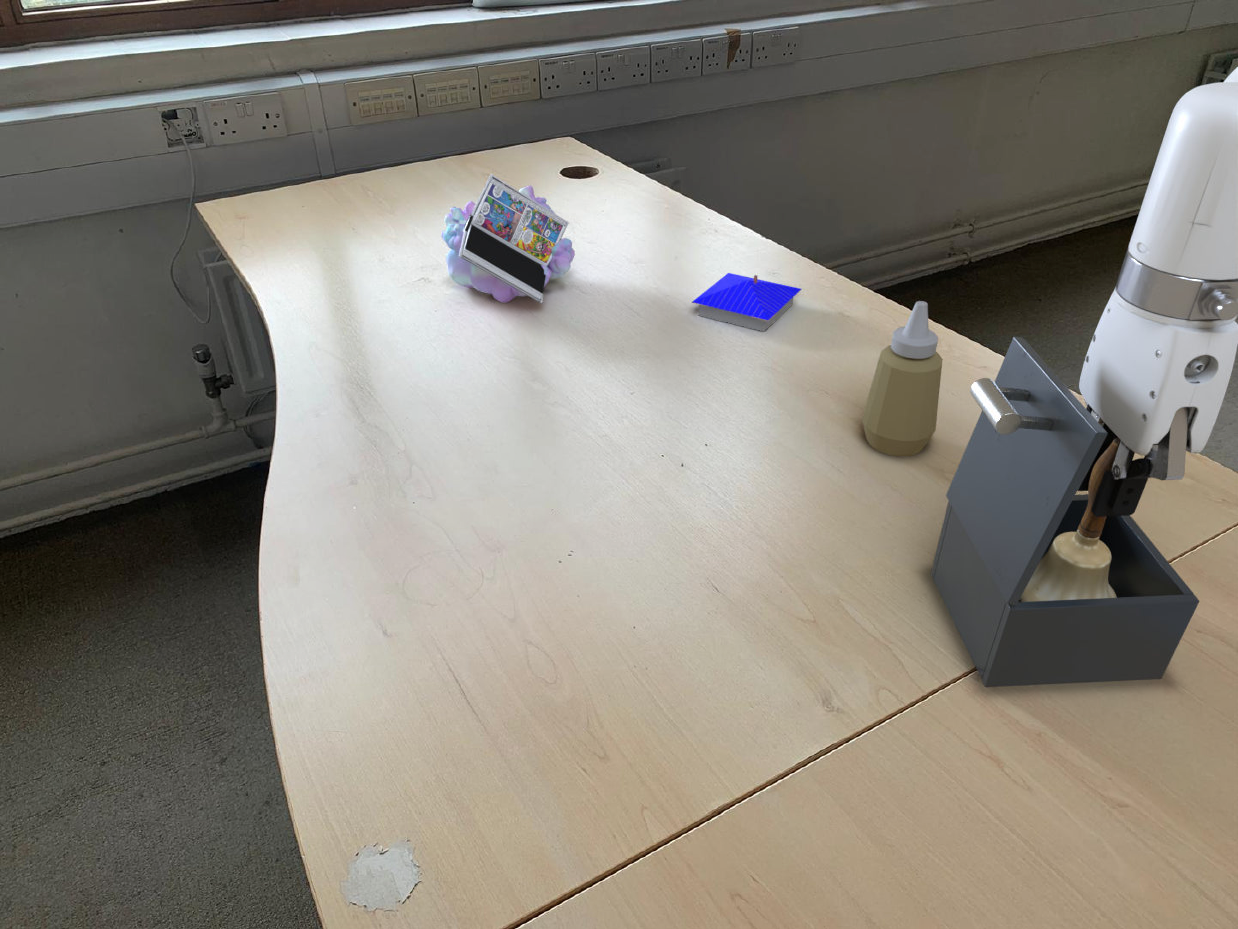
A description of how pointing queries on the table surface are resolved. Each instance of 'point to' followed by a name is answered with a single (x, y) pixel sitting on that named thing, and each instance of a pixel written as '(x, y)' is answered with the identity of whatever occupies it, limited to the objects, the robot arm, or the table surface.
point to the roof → (746, 301)
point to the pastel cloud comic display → (506, 243)
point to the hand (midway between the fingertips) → (1101, 499)
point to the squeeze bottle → (905, 389)
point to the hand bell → (1077, 553)
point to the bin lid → (1021, 466)
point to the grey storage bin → (1067, 612)
